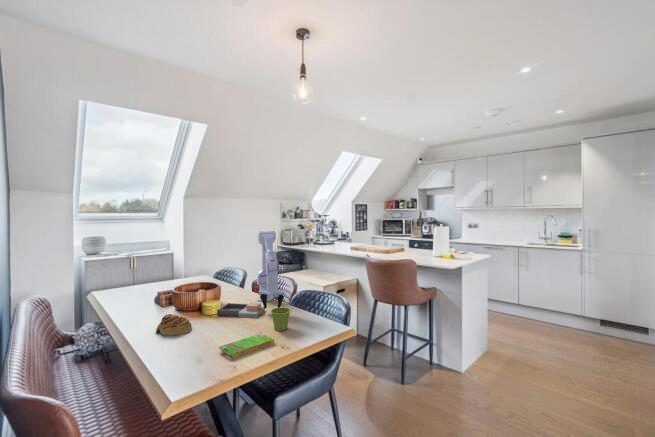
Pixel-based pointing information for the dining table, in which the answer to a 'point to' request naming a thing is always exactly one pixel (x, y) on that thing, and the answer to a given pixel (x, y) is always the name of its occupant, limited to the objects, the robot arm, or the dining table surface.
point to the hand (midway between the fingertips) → (272, 308)
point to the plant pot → (280, 318)
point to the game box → (247, 345)
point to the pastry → (173, 325)
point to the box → (230, 309)
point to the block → (253, 306)
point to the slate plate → (250, 313)
